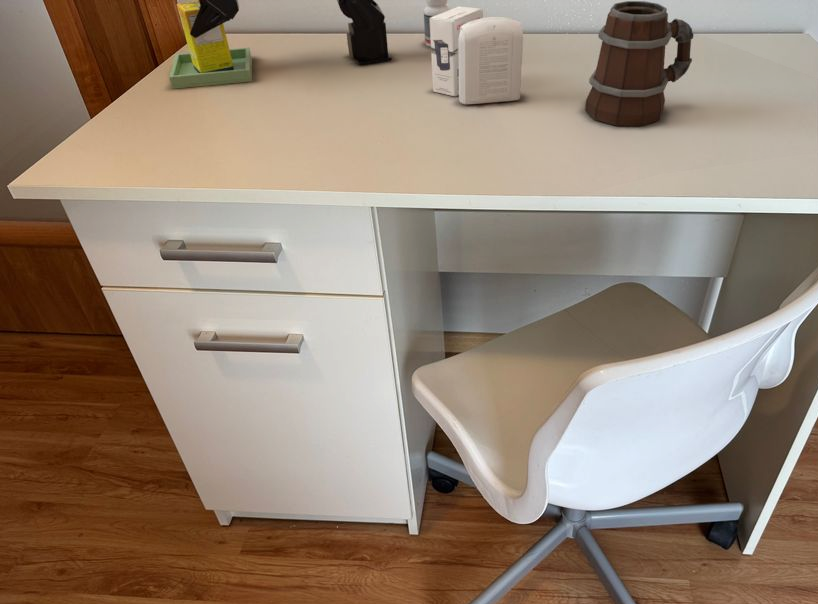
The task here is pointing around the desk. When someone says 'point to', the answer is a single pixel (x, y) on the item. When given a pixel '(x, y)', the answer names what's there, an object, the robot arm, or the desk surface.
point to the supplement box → (205, 42)
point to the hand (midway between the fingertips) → (194, 28)
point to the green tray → (189, 77)
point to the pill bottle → (435, 7)
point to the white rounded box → (490, 60)
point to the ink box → (448, 47)
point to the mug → (636, 64)
